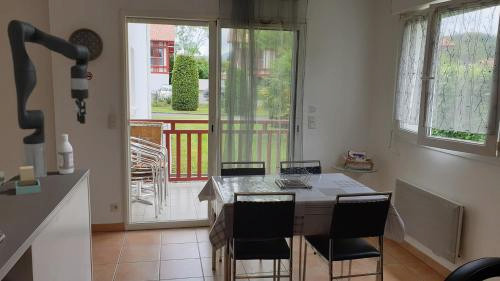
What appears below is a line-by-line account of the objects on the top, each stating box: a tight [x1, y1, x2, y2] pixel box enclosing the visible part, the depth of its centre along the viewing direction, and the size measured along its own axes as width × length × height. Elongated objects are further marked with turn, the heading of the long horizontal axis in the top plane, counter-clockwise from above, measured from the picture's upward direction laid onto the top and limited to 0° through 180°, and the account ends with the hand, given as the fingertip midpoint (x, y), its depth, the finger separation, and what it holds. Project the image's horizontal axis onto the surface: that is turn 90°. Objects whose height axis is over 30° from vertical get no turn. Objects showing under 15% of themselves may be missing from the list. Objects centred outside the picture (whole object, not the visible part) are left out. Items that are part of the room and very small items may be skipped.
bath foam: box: [57, 133, 75, 175], centre depth 198 cm, size 7×7×20 cm
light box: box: [19, 166, 34, 181], centre depth 166 cm, size 5×5×5 cm
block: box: [18, 176, 37, 187], centre depth 166 cm, size 6×6×5 cm
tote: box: [14, 178, 42, 196], centre depth 167 cm, size 11×9×4 cm
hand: (81, 122), depth 183 cm, fingers open, 8 cm apart
